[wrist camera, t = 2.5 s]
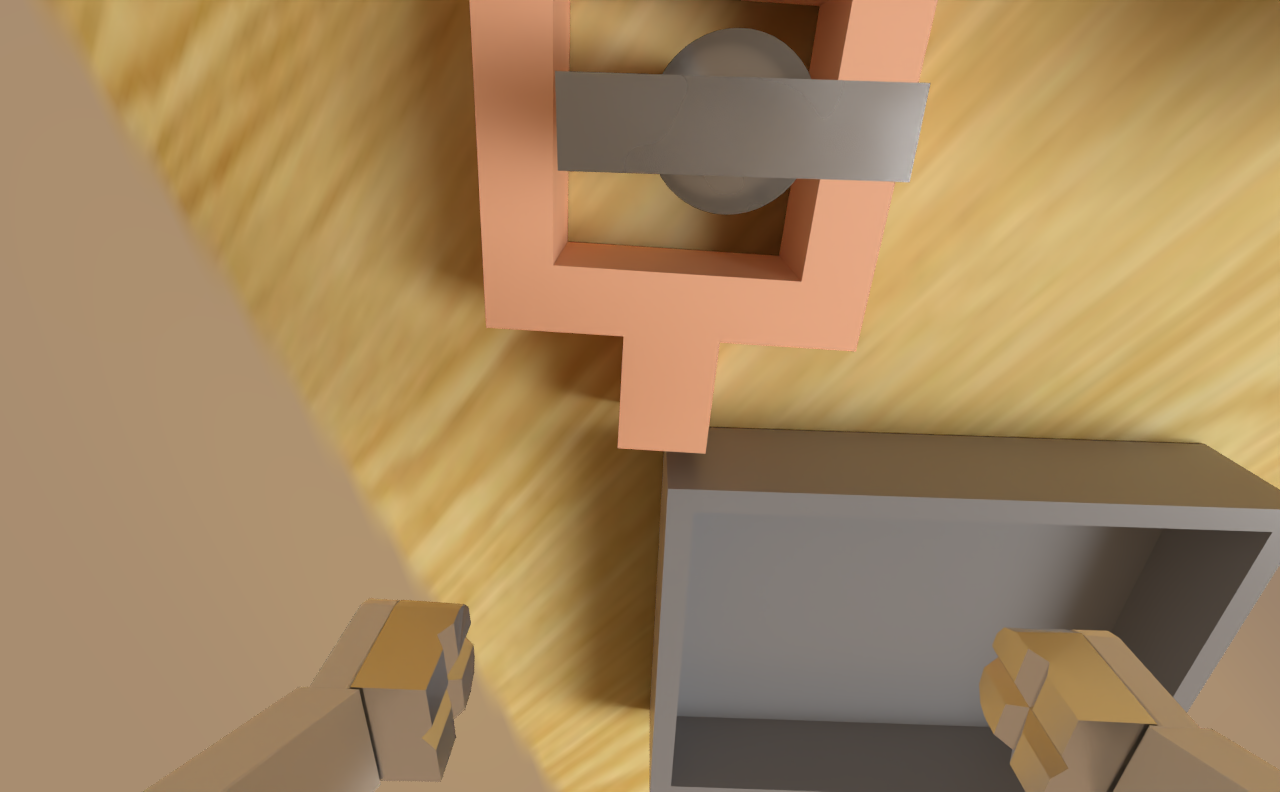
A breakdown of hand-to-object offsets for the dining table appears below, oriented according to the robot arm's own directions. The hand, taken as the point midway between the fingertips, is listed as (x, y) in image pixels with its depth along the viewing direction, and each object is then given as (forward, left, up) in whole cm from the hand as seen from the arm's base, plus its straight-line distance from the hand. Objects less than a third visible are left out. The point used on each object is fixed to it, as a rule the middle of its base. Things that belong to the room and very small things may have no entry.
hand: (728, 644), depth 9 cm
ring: (-5, -1, -11) cm, 13 cm away
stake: (-7, 0, -12) cm, 14 cm away
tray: (+10, +9, -12) cm, 17 cm away
